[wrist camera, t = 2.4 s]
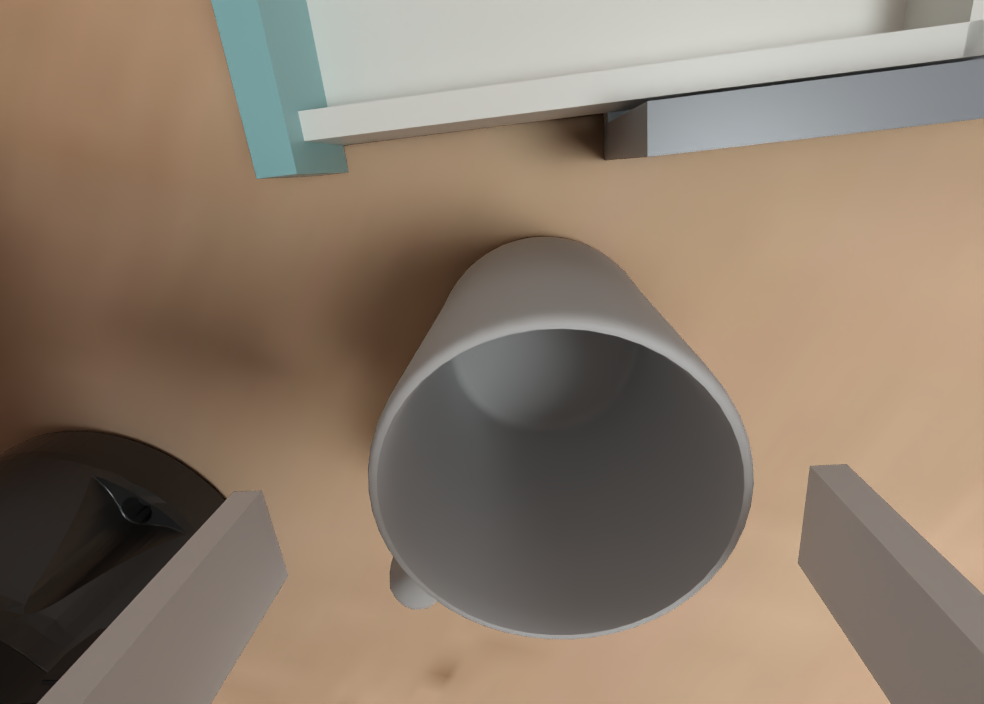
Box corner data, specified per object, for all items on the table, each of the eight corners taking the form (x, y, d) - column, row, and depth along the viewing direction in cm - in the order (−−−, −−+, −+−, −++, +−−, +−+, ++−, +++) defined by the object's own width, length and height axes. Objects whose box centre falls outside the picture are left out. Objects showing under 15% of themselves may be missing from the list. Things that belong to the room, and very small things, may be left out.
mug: (523, 188, 19) (519, 216, 9) (689, 320, 20) (853, 477, 10) (363, 409, 23) (228, 608, 13) (511, 508, 24) (498, 760, 14)
